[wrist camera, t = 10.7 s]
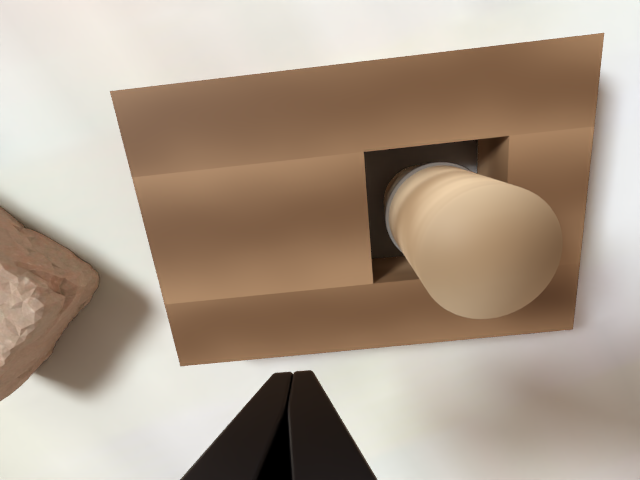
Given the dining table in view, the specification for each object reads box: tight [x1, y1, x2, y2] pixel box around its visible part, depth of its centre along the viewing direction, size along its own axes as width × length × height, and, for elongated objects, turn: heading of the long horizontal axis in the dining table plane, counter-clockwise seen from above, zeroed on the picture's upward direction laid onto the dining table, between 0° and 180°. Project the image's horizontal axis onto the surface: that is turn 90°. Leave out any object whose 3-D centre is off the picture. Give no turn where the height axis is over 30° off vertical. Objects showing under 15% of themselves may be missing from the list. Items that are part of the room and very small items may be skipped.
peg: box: [384, 162, 563, 319], centre depth 14 cm, size 4×4×8 cm
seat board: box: [110, 33, 604, 366], centre depth 17 cm, size 12×18×3 cm, turn 96°
